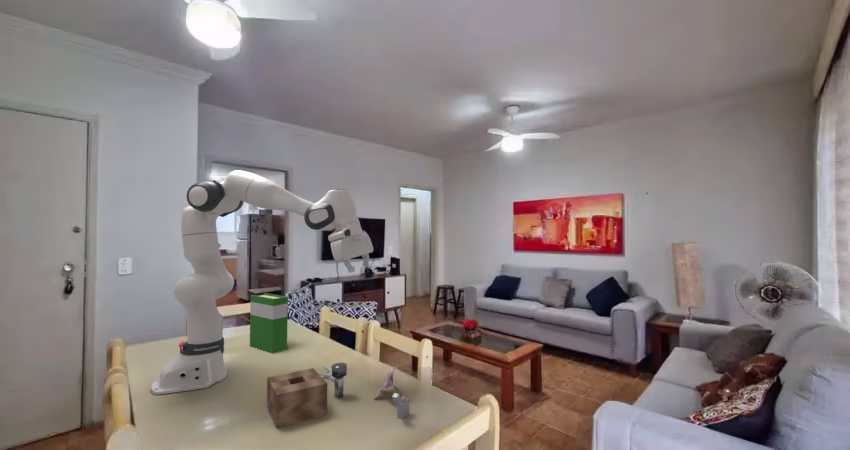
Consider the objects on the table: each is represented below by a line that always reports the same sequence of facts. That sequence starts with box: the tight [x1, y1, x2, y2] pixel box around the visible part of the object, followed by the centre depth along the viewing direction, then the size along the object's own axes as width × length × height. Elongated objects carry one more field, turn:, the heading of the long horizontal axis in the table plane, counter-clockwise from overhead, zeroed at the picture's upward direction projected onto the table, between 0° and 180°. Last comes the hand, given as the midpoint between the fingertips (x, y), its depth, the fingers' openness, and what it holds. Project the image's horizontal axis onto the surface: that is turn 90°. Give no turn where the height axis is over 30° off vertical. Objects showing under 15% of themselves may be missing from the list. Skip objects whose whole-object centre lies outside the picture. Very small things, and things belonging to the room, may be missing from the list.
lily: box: [374, 364, 402, 399], centre depth 117 cm, size 12×12×10 cm
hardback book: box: [249, 292, 289, 355], centre depth 164 cm, size 18×7×24 cm, turn 57°
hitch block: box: [266, 367, 328, 429], centre depth 106 cm, size 14×14×9 cm
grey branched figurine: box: [318, 365, 335, 383], centre depth 133 cm, size 10×2×15 cm
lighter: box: [391, 392, 410, 421], centre depth 102 cm, size 7×2×8 cm, turn 154°
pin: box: [331, 362, 348, 399], centre depth 116 cm, size 5×5×10 cm
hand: (359, 269), depth 126 cm, fingers open, 8 cm apart
